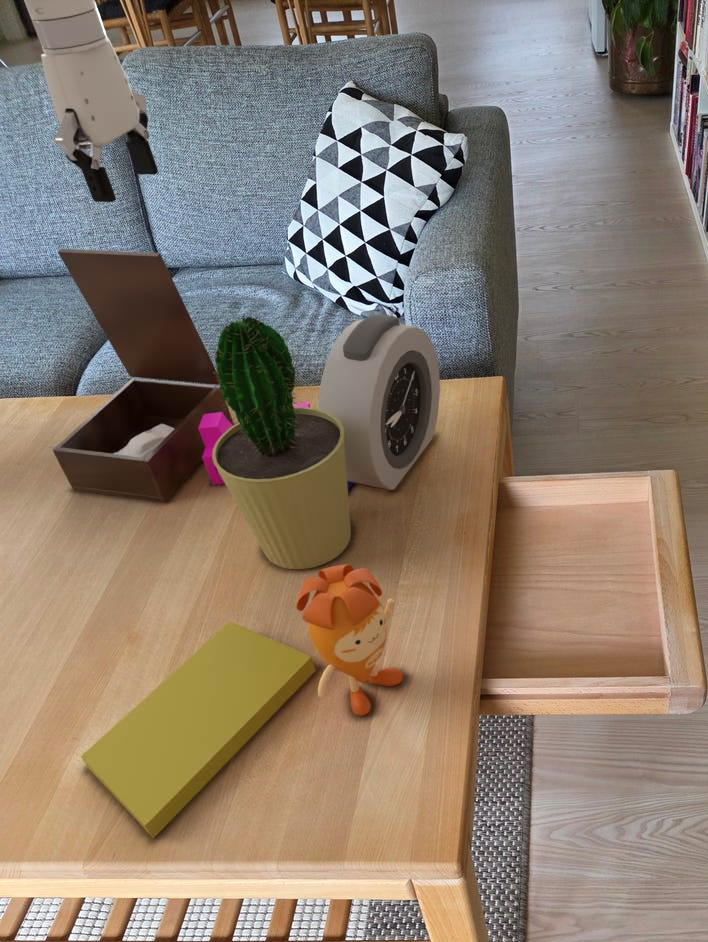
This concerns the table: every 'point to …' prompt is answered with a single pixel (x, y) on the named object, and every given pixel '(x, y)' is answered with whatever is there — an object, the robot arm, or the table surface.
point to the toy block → (211, 432)
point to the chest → (129, 416)
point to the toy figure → (348, 628)
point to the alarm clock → (382, 397)
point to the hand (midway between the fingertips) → (127, 187)
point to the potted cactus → (280, 451)
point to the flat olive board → (195, 722)
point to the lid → (141, 314)
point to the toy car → (146, 441)
